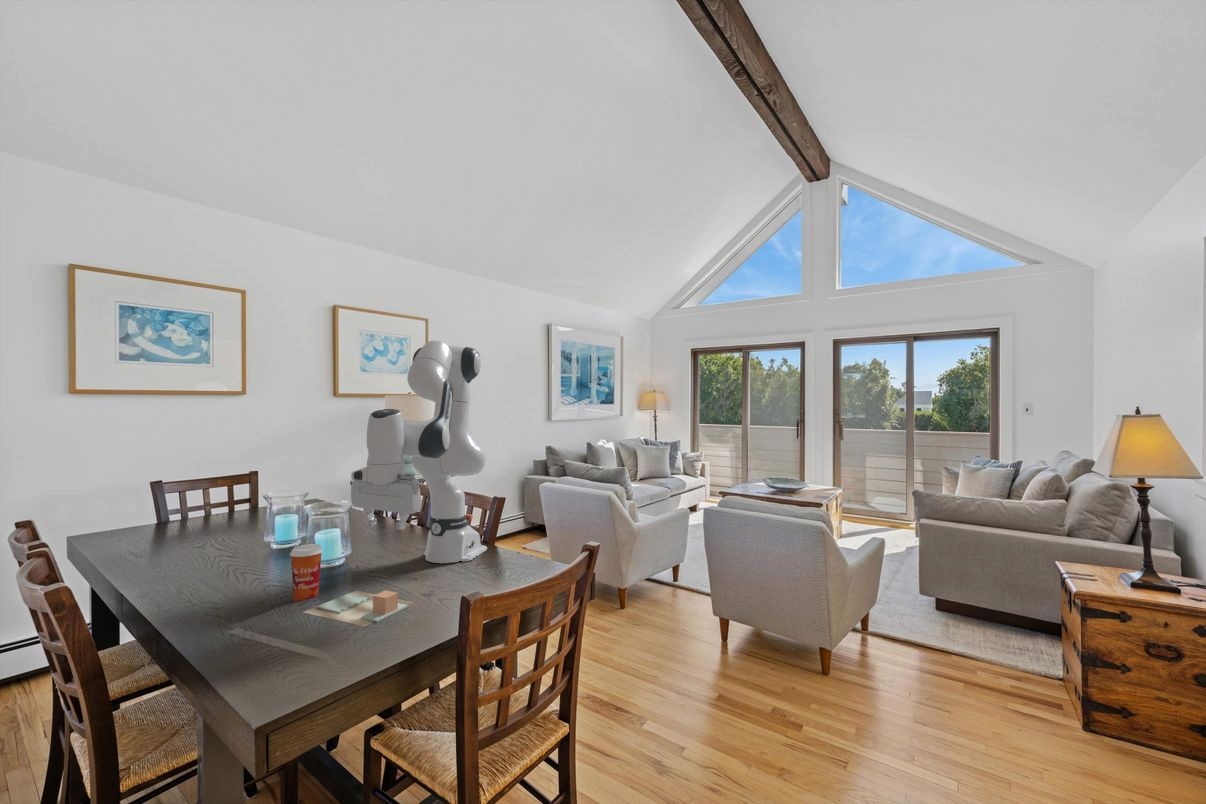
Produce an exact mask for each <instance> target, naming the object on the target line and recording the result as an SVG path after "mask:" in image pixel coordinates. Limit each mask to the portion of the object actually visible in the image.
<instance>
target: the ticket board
mask: <svg viewBox="0 0 1206 804" xmlns="http://www.w3.org/2000/svg"><path fill="white" fill-rule="evenodd" d="M374 595H376V594H374V593H370V592H369V593H368V592H364V591H359V590H355V591H351V592H349V593H347V594H343V595H342V596H339V597H336V598H334V599H331V600H329V601H327V602H323V603H321V604H319V605H317V606H314V607H312V608H310V609H307V610H305V611H303V613H304V614H309V615H313V616H317V617H320V618H321V617H322V618H324V619H325V618H326V619H329V620H333V621H338V622H342V623H345V624H349V625H354V626H359V627H367V626H368V625H371V624H373V623H375V622H374V621H370V620H366V619H361V616H363V615H365V614H368V613H370V612H372V611H373V596H374ZM398 603H401V604H406V605H408V606H410V605H411V604H413V603H414V602H413V601H409V600H403V599H399V598H398Z"/></svg>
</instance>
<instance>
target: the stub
mask: <svg viewBox="0 0 1206 804" xmlns="http://www.w3.org/2000/svg"><path fill="white" fill-rule="evenodd" d="M398 599H399V592H396V591H390V590H387V589H385V590H383V591H381V592H379V593H376V594H375V595H374V596H373V611H372V612H370V613H368V614H365V615H363V616H361V619H366V620H370V621H374V622H373V623H379V622H380V621H382V620H385V619H386V618H389V617H390V616H392V615H395V614H398V613H399V612H401V611H403V610H405V609H407V608H409V605H406V604H401V603H398Z"/></svg>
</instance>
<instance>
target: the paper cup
mask: <svg viewBox="0 0 1206 804" xmlns="http://www.w3.org/2000/svg"><path fill="white" fill-rule="evenodd" d="M323 552H324V549H323V548H322V546H321V545H320V544H318V543H315V544H314V543H308V544H301V545H298V546H294V547H293V548H292V549H291V552H290V553H289V555H290V559H291V560H290V561H291V575H292V576H291V577H292V579H291V580H292V594H293V602H297V601H301V600H309V599H313V598H316V597H317V596H318V595H319V591H320V589H319V588H320V580H321V568H322V567H321V565H322V553H323Z"/></svg>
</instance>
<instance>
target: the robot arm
mask: <svg viewBox="0 0 1206 804" xmlns="http://www.w3.org/2000/svg"><path fill="white" fill-rule="evenodd" d="M481 365H482V362H481V355H480V353H479V351H478V350H477V349H476V348H473V347H470V346H469V347H468V346H464V347H463V346H457V345H456V346H455V345H447V344H446V343H445V342H443V341H439V340H429V341H427V342H426V343H425V344H423V346H422V347H419V348H418V349H417V350H416V351H415V352H414V353H413V356H412V362H411V365H410V366H409V369H408V371H407V372H408V373H407V384H408V386H409V387H410V389H411V391H413V393H415V395H417V396H419V397H420V398H422V399H424V400H428V401H431V402H434V403H435V405H434V412H433V417H432V418H430V419H428V420H406V419H404V418H403V414H402V412H401V410H398V409H394V408H384V409H378V410H374V411H373V412H372V413H370V414H369V417H368V421H367V428H366V447H367V453H368V454H367V455H368V457H367V458H366V467H362V468H360V469H357V470H354V471H352V472H351V473H350V477H351V480H353V481H352V483H351V486H350V500H351V501H350V502H351V504H352V506H353V507H354V508H358V509H359V508H360V509H363V515H364V516H365V518H366V520H367V521H366V524H367V526H369V527H373V526H377V524H378V522H377V521H378V520H377V519H378V518H377V517H375V515H374V511H375V510H376V511H384V512H392V513H398V517H400V518H399V520H398V521H397V522H395V529H396V530H397V531H403V530H405V529H406V522H407V520H408V518H409V517H410V515H412V514H416V513H419V512H420V511H421V509H422V496H421V495H422V494H421V488H420V482H419V480H418V479H417V478H416V477H415V476H413V475H405V457H411V463H412V466H413V468H414V470H415V471H417V472H418V473H419V474H420V475H421V476H422V478H423V479H424V481H425V483H426V485H427V487H428V489H429V490H428V492H429V495H430V516H429V520H428V524H429V528H430V529H429V531H428V534H427V542H426V548H425V549H426V550H425V551H424V553H423V555H424V557H425V558H424V559H425V561H426V562H429V563H435V564H450V563H451V564H452V563H458V562H459V561H462V562H469V561H470V560H471V561H472V560H474V559H475V558H477V557H478V556H480V555H482V554H483V553H484V552H486V551H487V550H488V547H487V546H486V545H484V544H481V536H480V533H479V532H478V531H476V530H475V529H474V528H473V527H471V526H470V525H469V522H468V521H472V520H473V514H471V513H470V514H469V513H467V514H465V512H466V507H465V506H466V494H465V492H464V490H463V489H462V488H461V487H460V486H458V485H456V483H454V481H453V478H452V476H453V477H454V476H459V477H469V476H474V475H478V474H480V473H481V472H482V470H484V467H485V466H486V454H485V451H484V449H483V448H482V447H481V446H480V445H479V444H478V443H477V442H476V441H475V438H474V437H473V436H472V433H471V430H470V429H471V428H470V421H469V419H470V399H471V398H470V394H471V393H470V392H471V391H470V383H471V382H472V381H473V380H474V379H475V378H476V377H477V376H478V375H479V373H480V371H481V367H482V366H481ZM476 556H477V557H476ZM473 558H474V559H473ZM459 563H460V562H459Z"/></svg>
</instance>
